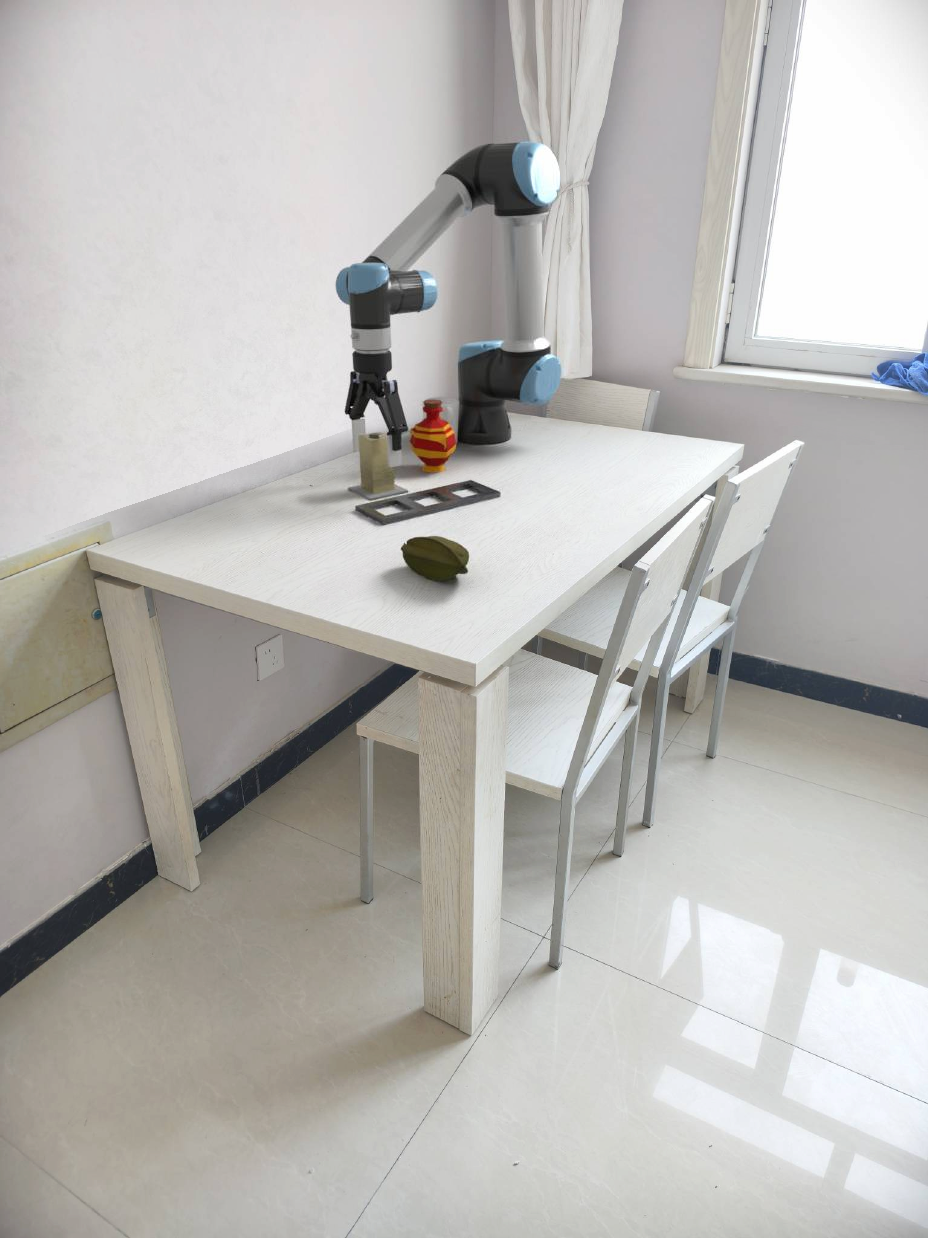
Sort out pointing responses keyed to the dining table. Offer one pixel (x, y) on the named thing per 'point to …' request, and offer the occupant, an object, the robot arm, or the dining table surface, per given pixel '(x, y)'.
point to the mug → (448, 412)
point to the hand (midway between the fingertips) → (377, 458)
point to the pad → (379, 495)
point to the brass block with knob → (375, 463)
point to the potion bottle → (433, 438)
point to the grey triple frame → (419, 509)
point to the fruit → (435, 557)
